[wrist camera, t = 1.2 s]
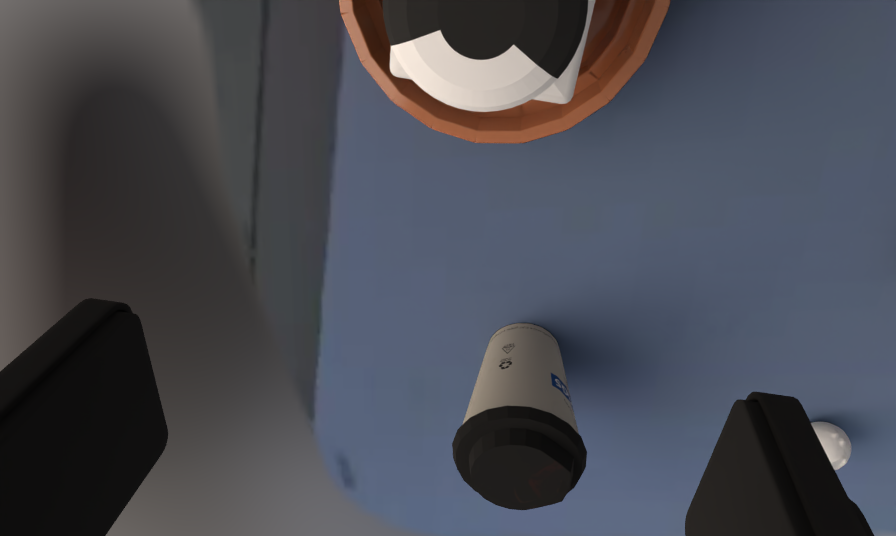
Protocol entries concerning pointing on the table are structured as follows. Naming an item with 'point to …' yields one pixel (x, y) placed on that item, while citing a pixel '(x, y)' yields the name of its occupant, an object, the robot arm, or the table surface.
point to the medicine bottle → (489, 49)
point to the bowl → (599, 80)
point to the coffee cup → (520, 423)
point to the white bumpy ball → (833, 443)
